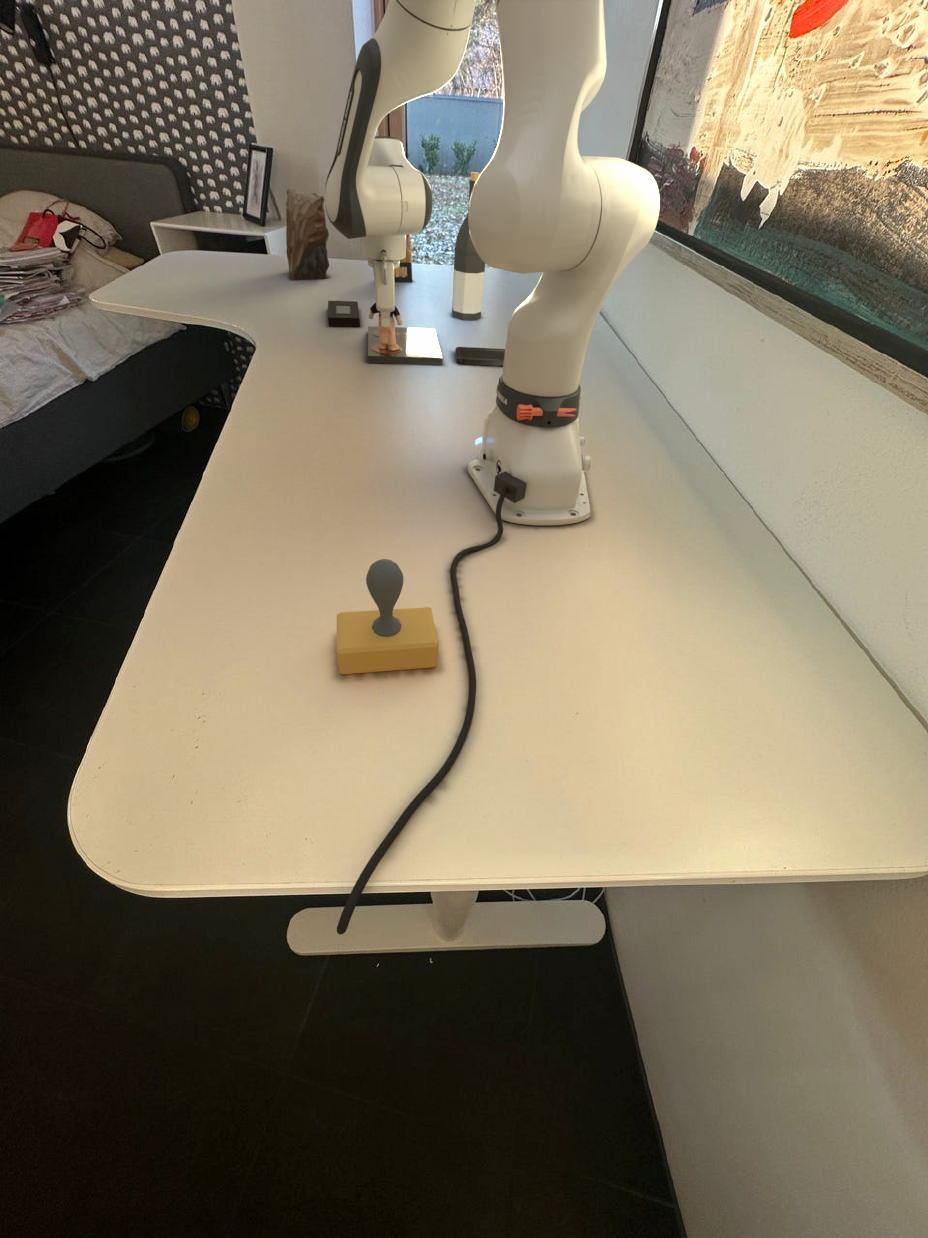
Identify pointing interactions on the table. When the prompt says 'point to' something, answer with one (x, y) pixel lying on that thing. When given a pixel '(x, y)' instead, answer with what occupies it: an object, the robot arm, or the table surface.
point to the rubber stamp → (385, 629)
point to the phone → (480, 356)
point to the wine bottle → (467, 271)
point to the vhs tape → (343, 313)
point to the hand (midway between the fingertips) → (385, 322)
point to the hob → (406, 347)
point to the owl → (306, 236)
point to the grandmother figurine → (387, 329)
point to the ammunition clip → (405, 266)
